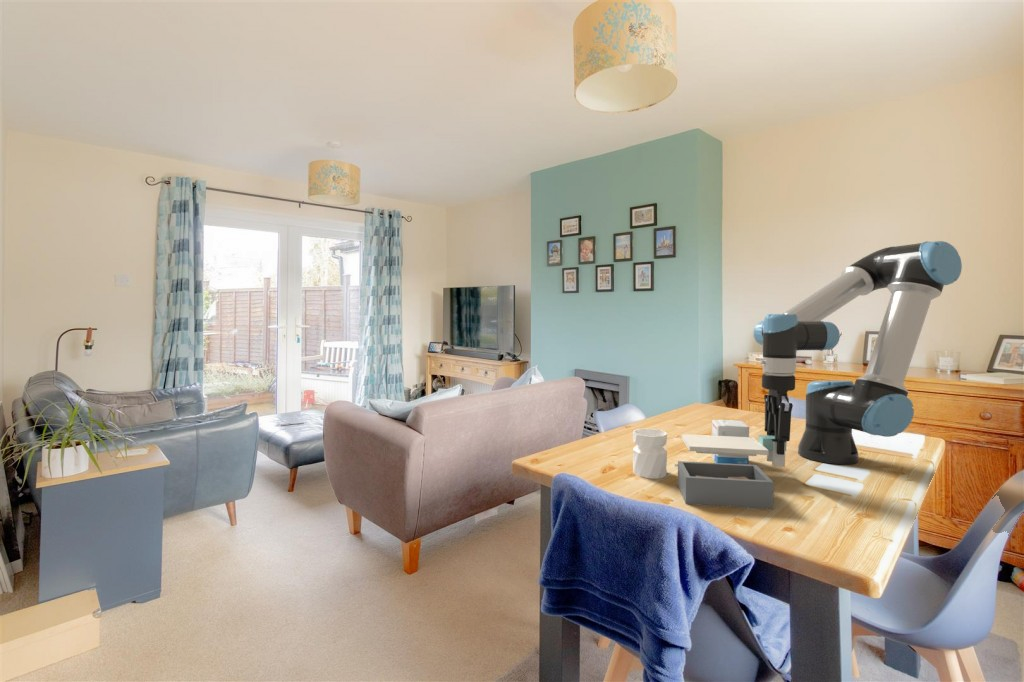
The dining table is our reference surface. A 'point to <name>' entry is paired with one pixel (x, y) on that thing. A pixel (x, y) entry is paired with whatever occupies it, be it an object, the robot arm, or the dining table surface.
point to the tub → (725, 485)
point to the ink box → (730, 429)
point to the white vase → (650, 453)
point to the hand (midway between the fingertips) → (775, 463)
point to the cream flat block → (729, 444)
